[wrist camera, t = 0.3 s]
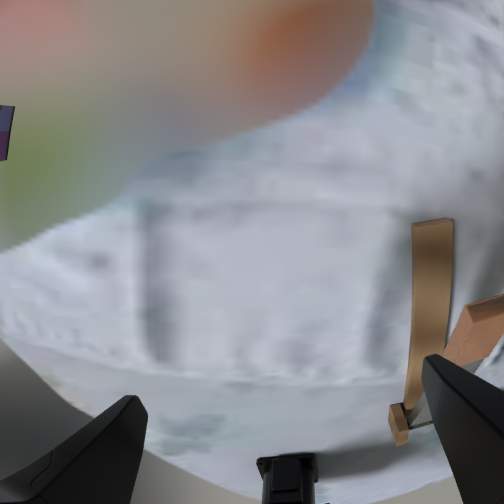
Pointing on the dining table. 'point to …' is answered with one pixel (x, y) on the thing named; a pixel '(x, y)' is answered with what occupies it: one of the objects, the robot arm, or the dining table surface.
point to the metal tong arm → (467, 346)
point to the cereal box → (5, 129)
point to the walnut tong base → (425, 311)
